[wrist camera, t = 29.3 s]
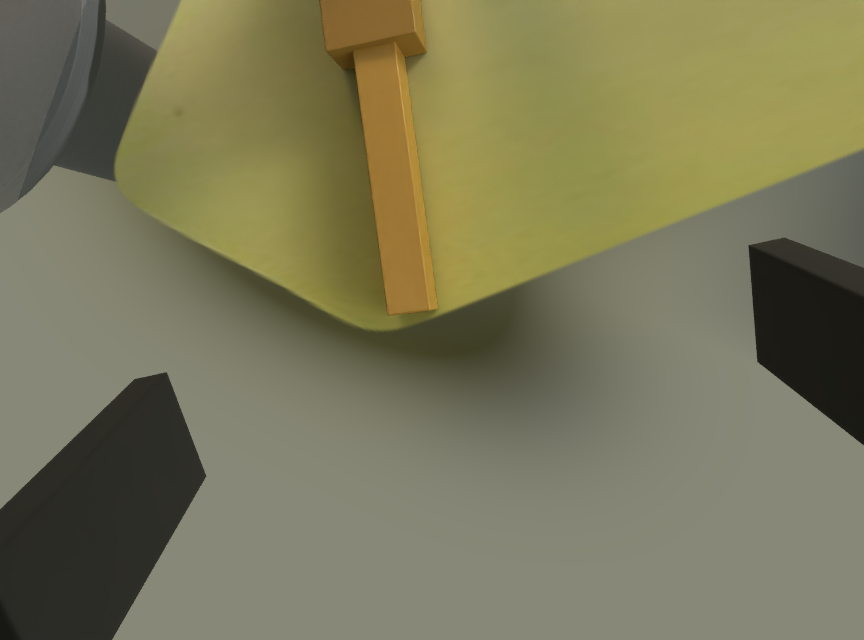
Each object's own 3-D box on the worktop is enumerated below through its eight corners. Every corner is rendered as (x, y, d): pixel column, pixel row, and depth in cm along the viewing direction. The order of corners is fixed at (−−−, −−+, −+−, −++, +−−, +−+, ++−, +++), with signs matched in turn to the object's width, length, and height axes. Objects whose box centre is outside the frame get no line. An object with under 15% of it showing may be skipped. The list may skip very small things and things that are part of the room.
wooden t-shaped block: (376, 317, 39) (361, 319, 36) (334, 2, 39) (315, -23, 36) (460, 306, 38) (452, 307, 35) (418, -18, 38) (405, -44, 35)
